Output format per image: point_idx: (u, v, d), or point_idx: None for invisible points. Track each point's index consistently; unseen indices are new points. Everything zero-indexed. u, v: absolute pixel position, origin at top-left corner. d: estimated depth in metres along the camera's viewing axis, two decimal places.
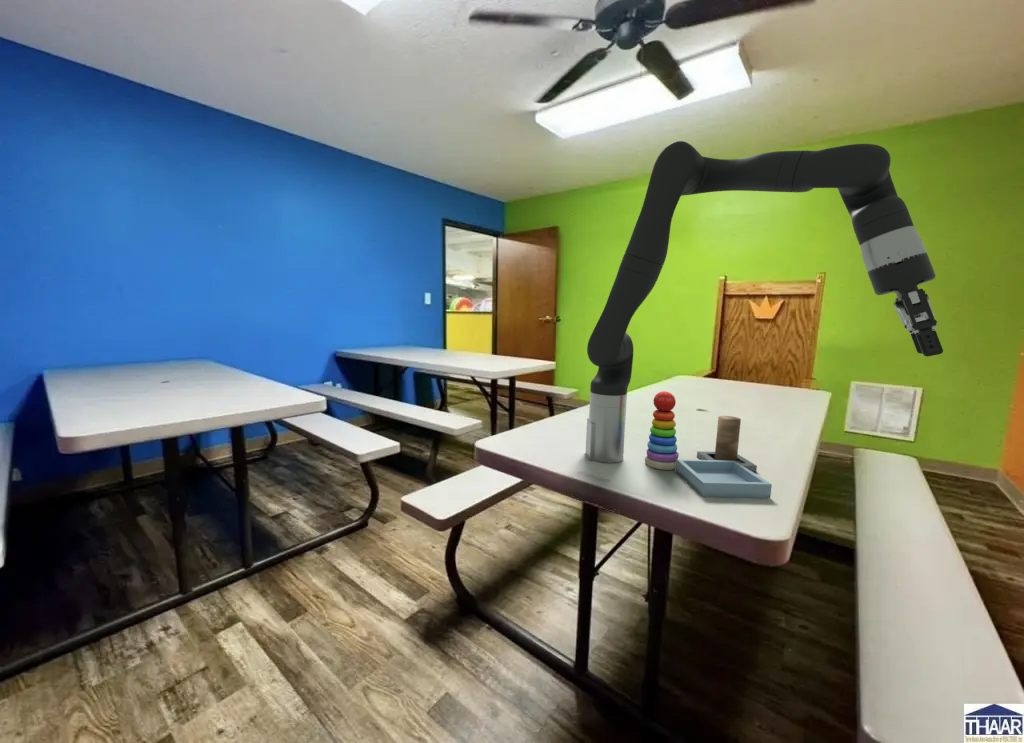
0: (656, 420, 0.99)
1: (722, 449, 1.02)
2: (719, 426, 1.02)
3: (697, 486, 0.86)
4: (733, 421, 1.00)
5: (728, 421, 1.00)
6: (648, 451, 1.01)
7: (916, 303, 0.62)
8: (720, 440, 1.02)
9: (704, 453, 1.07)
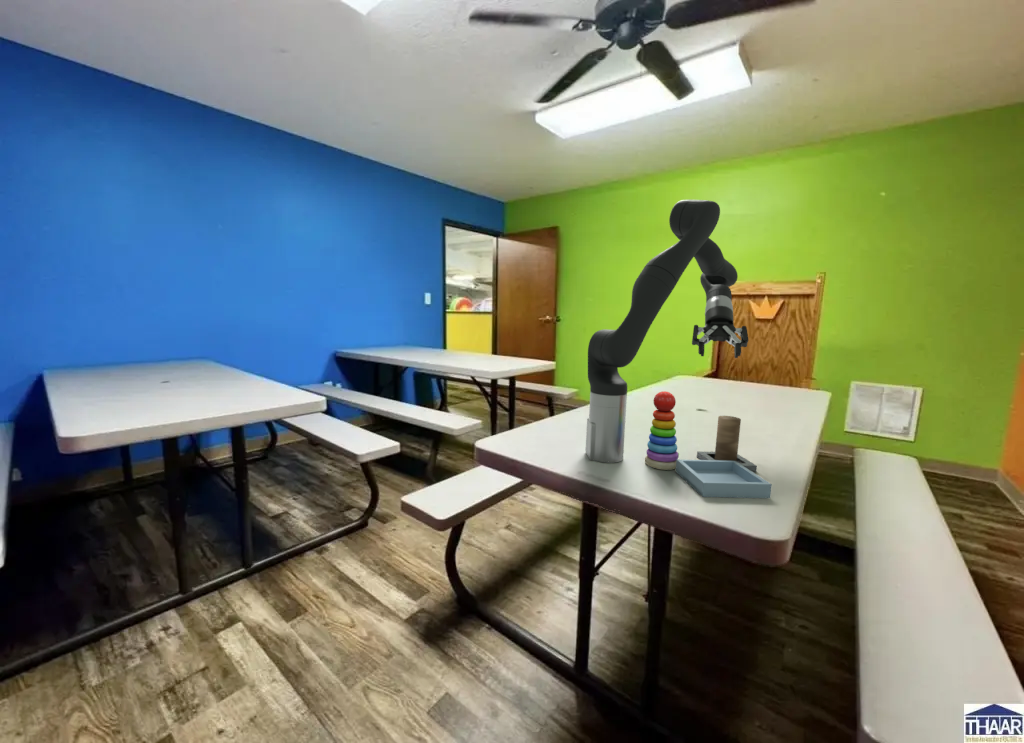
0: (656, 420, 0.99)
1: (722, 449, 1.02)
2: (719, 426, 1.02)
3: (697, 486, 0.86)
4: (733, 421, 1.00)
5: (728, 421, 1.00)
6: (648, 450, 1.01)
7: None
8: (720, 440, 1.02)
9: (704, 453, 1.07)
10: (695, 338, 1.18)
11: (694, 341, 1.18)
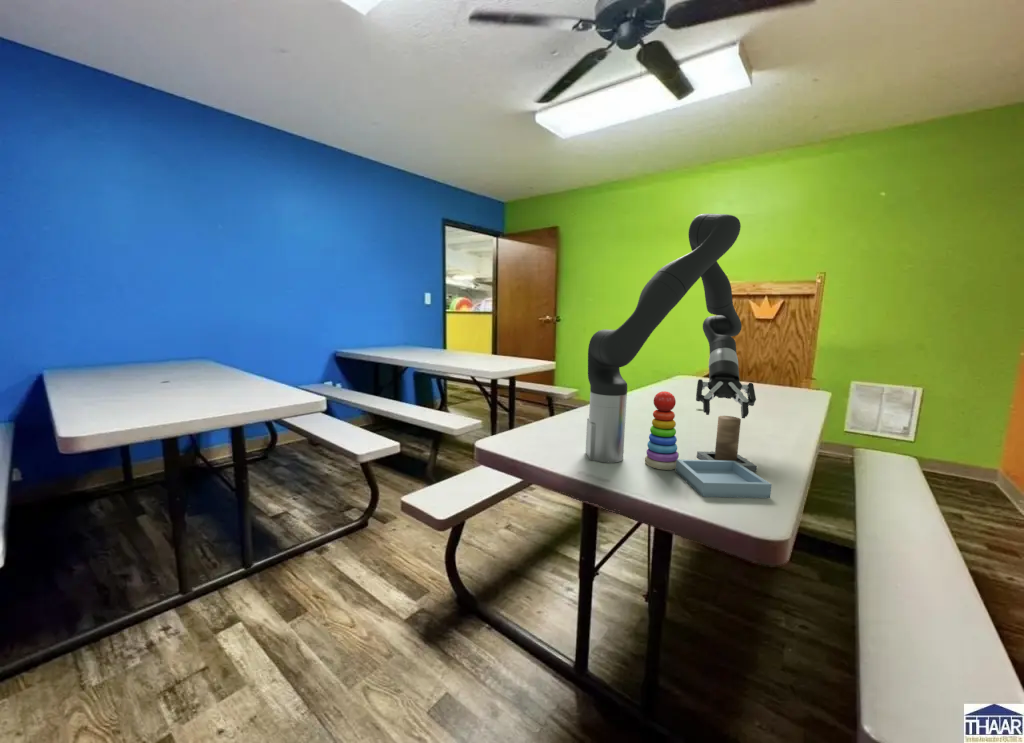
0: (656, 420, 0.99)
1: (722, 449, 1.02)
2: (719, 426, 1.02)
3: (697, 486, 0.86)
4: (733, 421, 1.00)
5: (728, 421, 1.00)
6: (648, 450, 1.01)
7: None
8: (720, 440, 1.02)
9: (704, 453, 1.07)
10: (700, 395, 1.11)
11: (698, 398, 1.12)
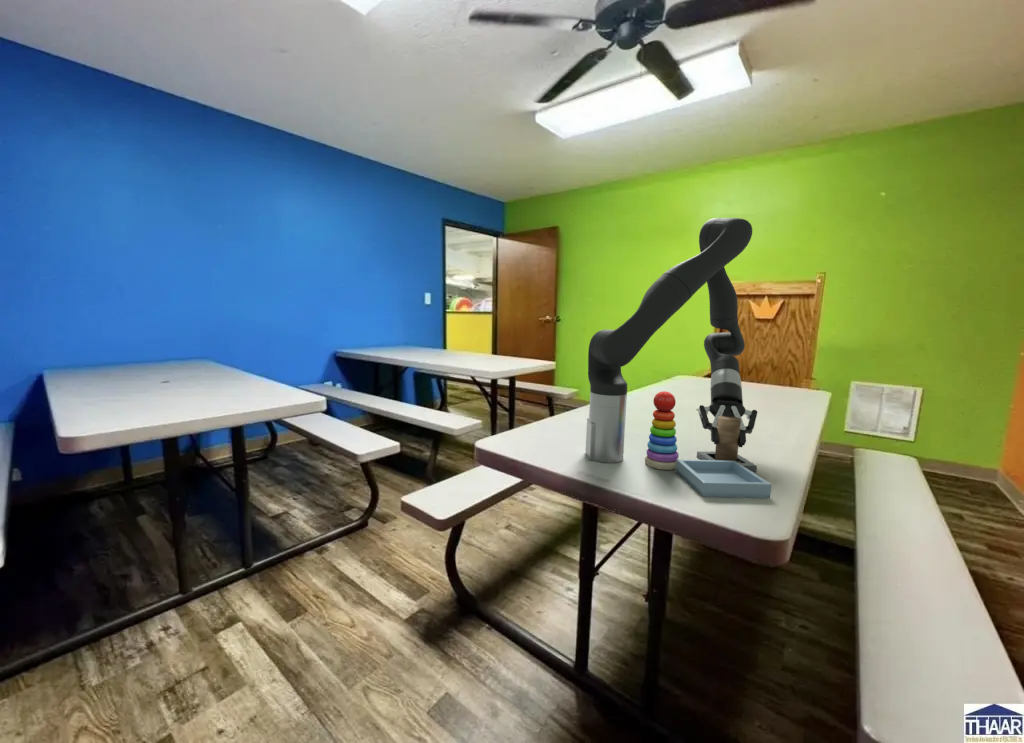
0: (656, 420, 0.99)
1: (722, 449, 1.02)
2: (719, 426, 1.02)
3: (697, 486, 0.86)
4: (733, 421, 1.00)
5: (728, 421, 1.00)
6: (648, 450, 1.01)
7: None
8: (720, 440, 1.02)
9: (704, 453, 1.07)
10: (707, 422, 1.05)
11: (706, 425, 1.05)
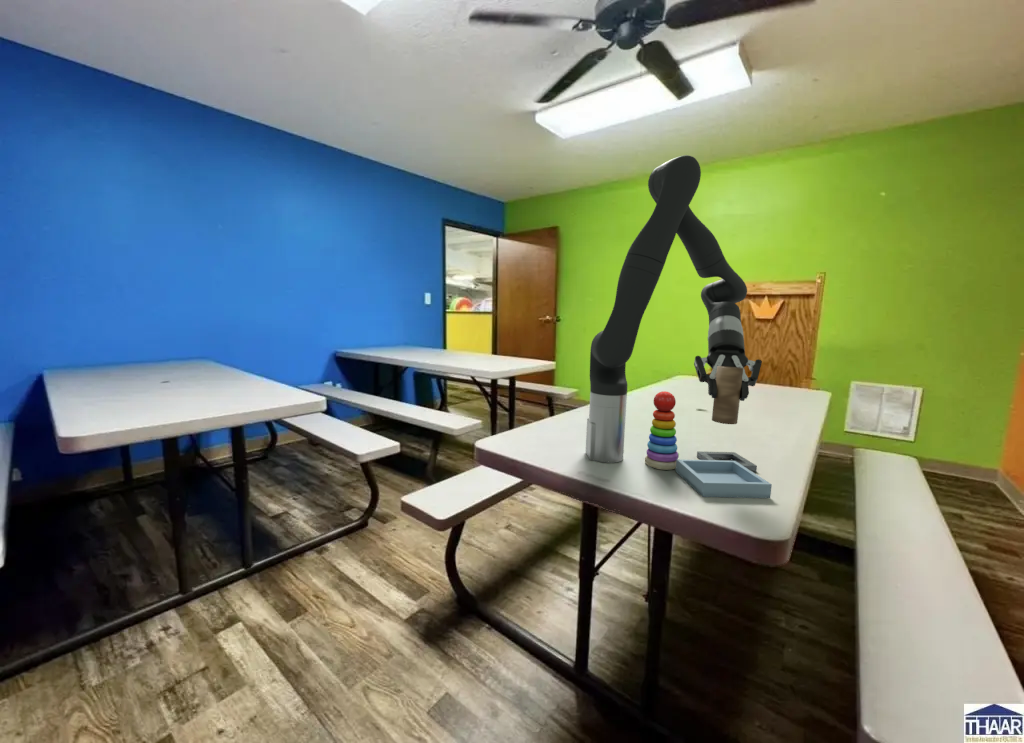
0: (656, 420, 0.99)
1: (721, 403, 0.88)
2: (718, 377, 0.88)
3: (697, 486, 0.86)
4: (734, 370, 0.86)
5: (729, 370, 0.86)
6: (648, 450, 1.01)
7: None
8: (719, 393, 0.88)
9: (704, 453, 1.07)
10: (704, 374, 0.91)
11: (703, 377, 0.91)
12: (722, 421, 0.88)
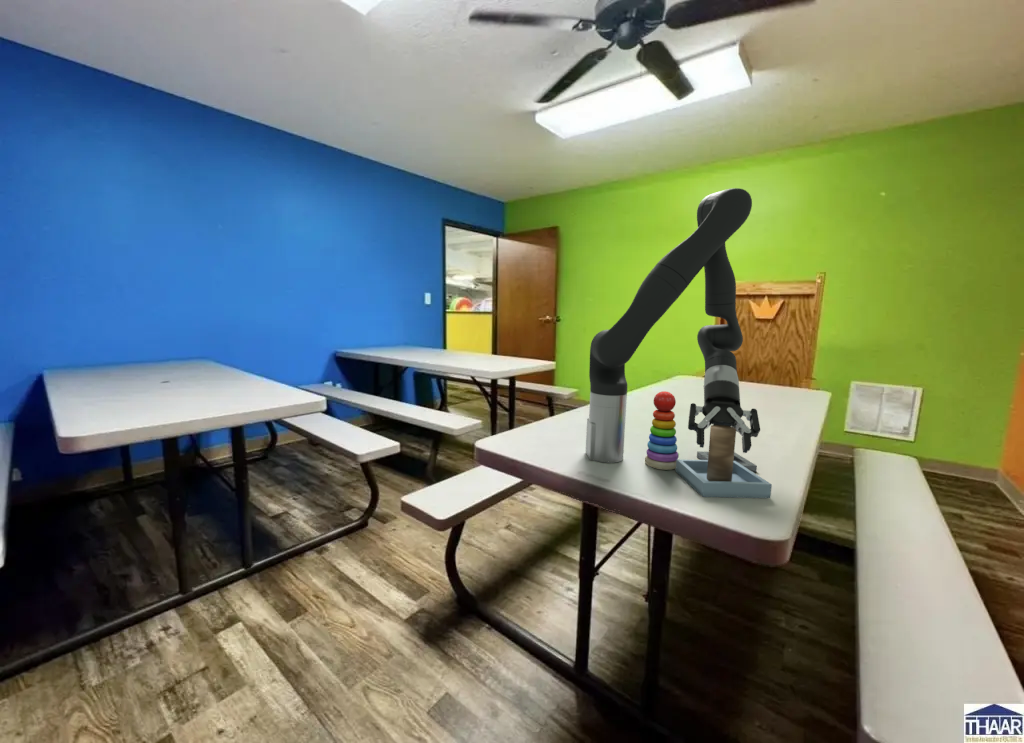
0: (656, 420, 0.99)
1: (715, 463, 0.89)
2: (711, 437, 0.89)
3: (697, 486, 0.86)
4: (727, 431, 0.87)
5: (722, 432, 0.87)
6: (648, 450, 1.01)
7: None
8: (712, 453, 0.89)
9: (704, 453, 1.07)
10: (692, 423, 0.93)
11: (691, 426, 0.93)
12: None
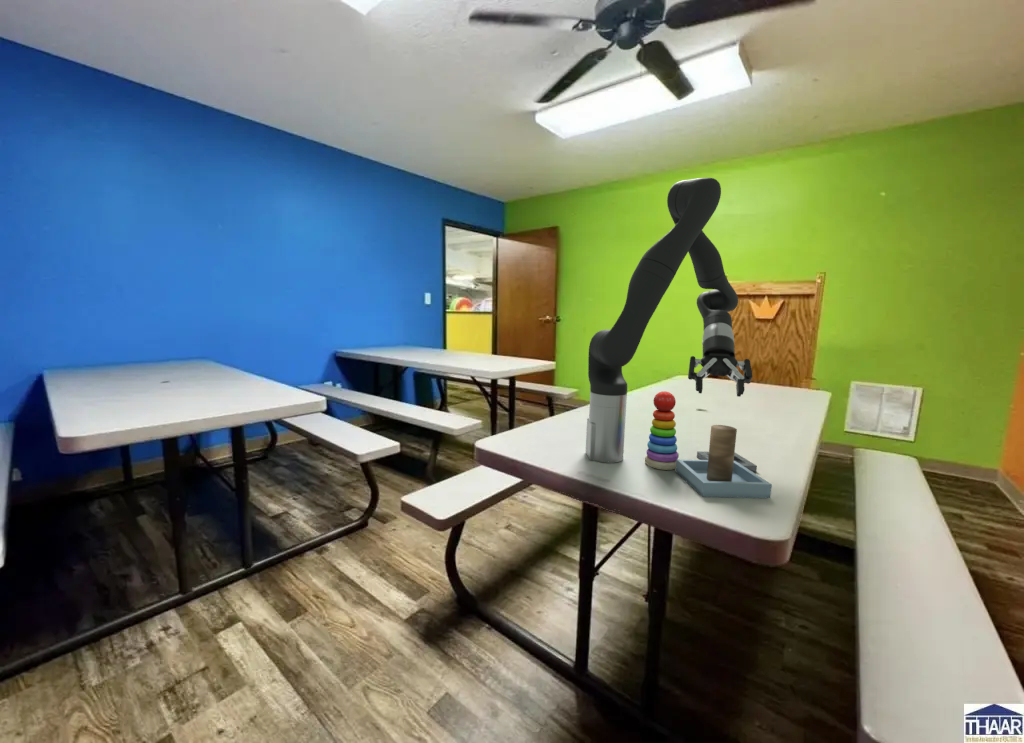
0: (656, 420, 0.99)
1: (715, 463, 0.89)
2: (712, 437, 0.89)
3: (697, 486, 0.86)
4: (728, 432, 0.87)
5: (722, 432, 0.87)
6: (648, 451, 1.01)
7: None
8: (713, 453, 0.89)
9: (704, 453, 1.07)
10: (692, 372, 1.03)
11: (691, 375, 1.04)
12: None
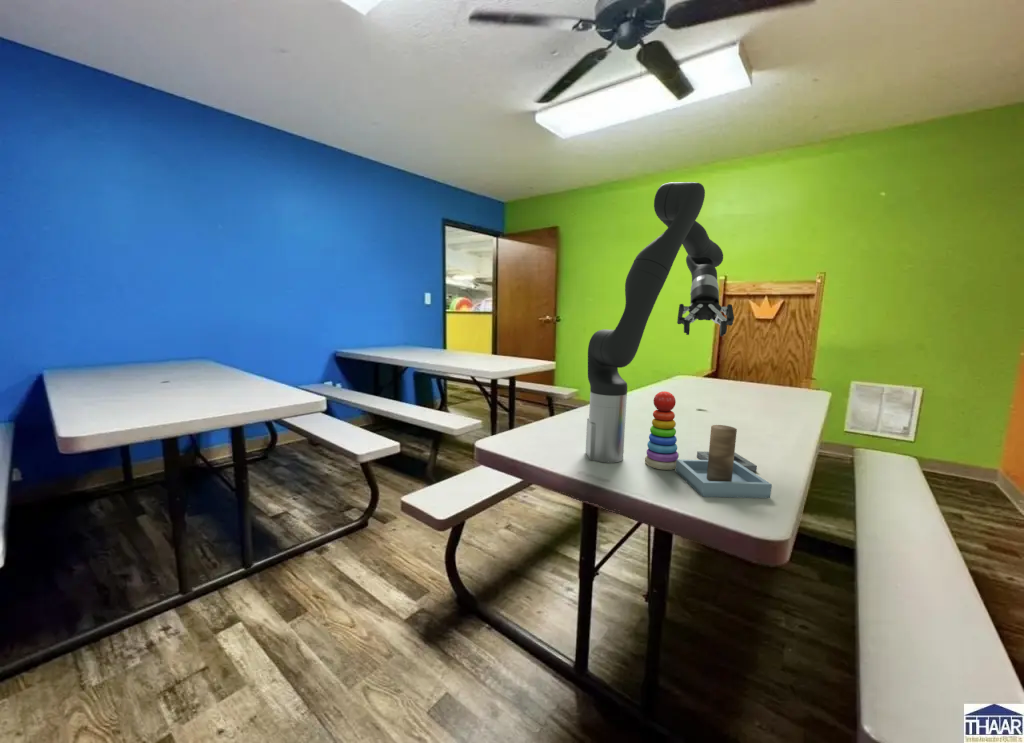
0: (656, 420, 0.99)
1: (715, 463, 0.89)
2: (712, 437, 0.89)
3: (697, 486, 0.86)
4: (728, 432, 0.87)
5: (722, 431, 0.87)
6: (648, 451, 1.01)
7: None
8: (713, 453, 0.89)
9: (704, 453, 1.07)
10: (680, 317, 1.15)
11: (679, 320, 1.16)
12: None
